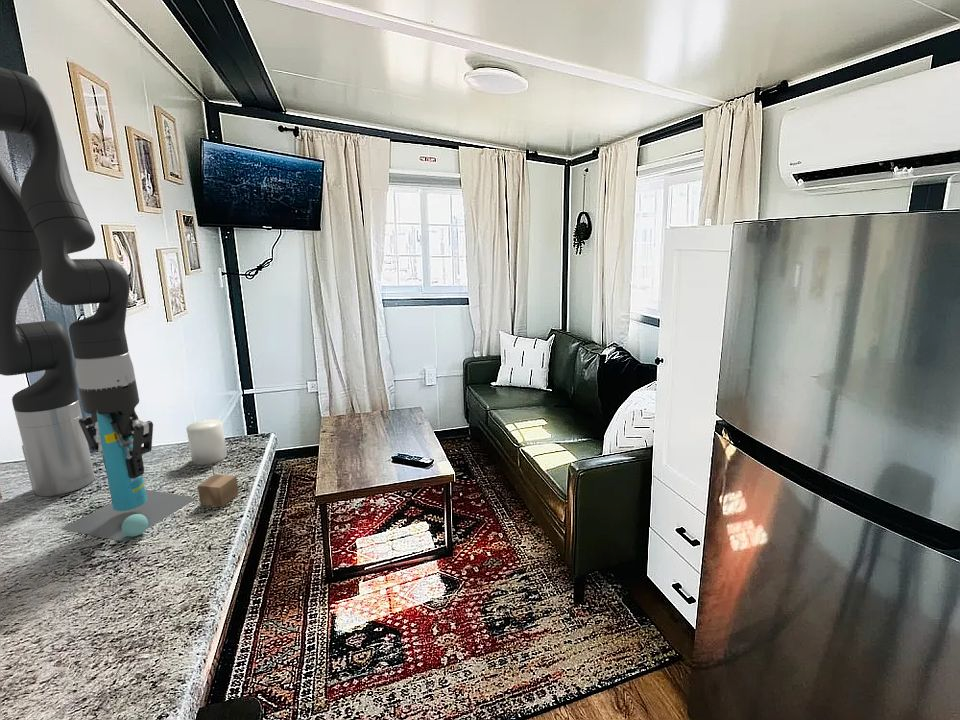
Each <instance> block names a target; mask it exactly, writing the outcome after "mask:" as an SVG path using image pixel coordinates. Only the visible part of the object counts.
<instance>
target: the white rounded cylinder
mask: <svg viewBox="0 0 960 720" xmlns="http://www.w3.org/2000/svg"><path fill="white" fill-rule="evenodd" d="M223 425H224V424H223V421H222V420H220V419H214V418H211V419H210V418H209V419H203V420H199V421H195V422H192V423H190V424H188V425H187V427H186V433H187V439H188V446H189V450H190V457H191V460H192V461H191V462H192V464H194V465H199V466H203V465H204V466H205V465H206V464H207V465H210V464H214V463H215V464H216V463H218V462H221V461H222V460H224V459H226V458H227V456H228V451H227V445H226V444H227V443H226V437H225V431H224V426H223Z"/></svg>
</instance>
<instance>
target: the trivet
mask: <svg viewBox="0 0 960 720" xmlns="http://www.w3.org/2000/svg"><path fill="white" fill-rule="evenodd" d="M145 491H146V497H147V501H146V502H145V503H144V504H143V505H141V506H139V507H137V508H135V509H132V510H127V511H116V510H114V509H113V506H112V502H110V503H109V504H107V505H105V506H103V507H101V508H99V509H97V510H95V511H94V512H92V513H89V514H88V515H86V516H83V517H82V518H79V519H78V520H75V521H73V522H72V523H70V524H68V525H66V526H64V527H61V530H65V531H68V532H74V533H79V534H82V535H83V534H84V535H89V536H94V537H98V538H103V539H108V540H113V541H119V542H123V543H127V542H128V541H130V540H131V539H133V538H134V537H131V536H127V535H125V534H124V533H123V531H122V524H123V522H124V520H125V519H126V518H127V517H129V516H131V515H134V514H141V515H144V516H145V517H146V518H147V520H148V527H147V529H146V530H148V529H149V528H151V527H152V526H154V525H157V524H158V523H159V522H161V521H162V520H164V519H166V518H168V517H169V516H171V515H173V514H174V513H176V512H177V511H179V510H181V509H183V508H184V507H186V506H188V505H189V504H190V503H192V502H194V501H196V500H197V499H198V497H192V496H188V495H187V496H186V495H180V494H175V493H171V492H170V493H169V492H164V491H156V490H152V489H151V490H150V489H146V488H145Z"/></svg>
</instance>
